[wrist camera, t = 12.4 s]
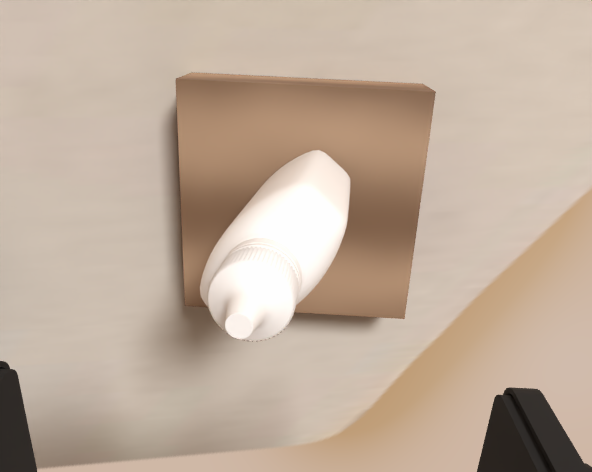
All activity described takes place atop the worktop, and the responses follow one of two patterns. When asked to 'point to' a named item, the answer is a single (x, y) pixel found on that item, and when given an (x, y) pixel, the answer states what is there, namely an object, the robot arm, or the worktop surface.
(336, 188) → the eye dropper bottle
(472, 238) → the worktop surface
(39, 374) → the worktop surface
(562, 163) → the worktop surface
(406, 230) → the walnut stand
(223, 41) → the worktop surface
